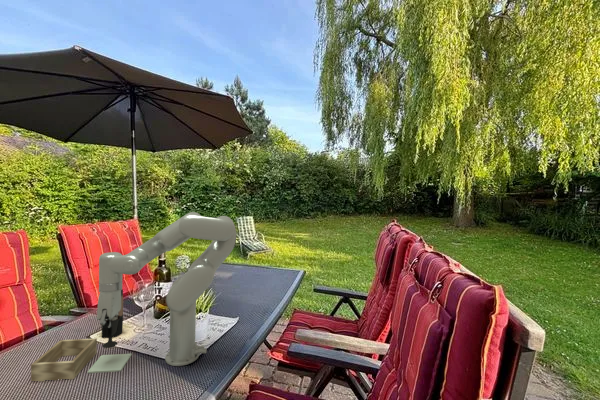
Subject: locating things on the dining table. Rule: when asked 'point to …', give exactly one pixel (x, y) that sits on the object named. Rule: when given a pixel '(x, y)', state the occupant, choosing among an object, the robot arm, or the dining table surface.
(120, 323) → the travel mug
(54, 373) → the crate
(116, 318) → the sundae
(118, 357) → the mat
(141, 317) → the dining table surface
